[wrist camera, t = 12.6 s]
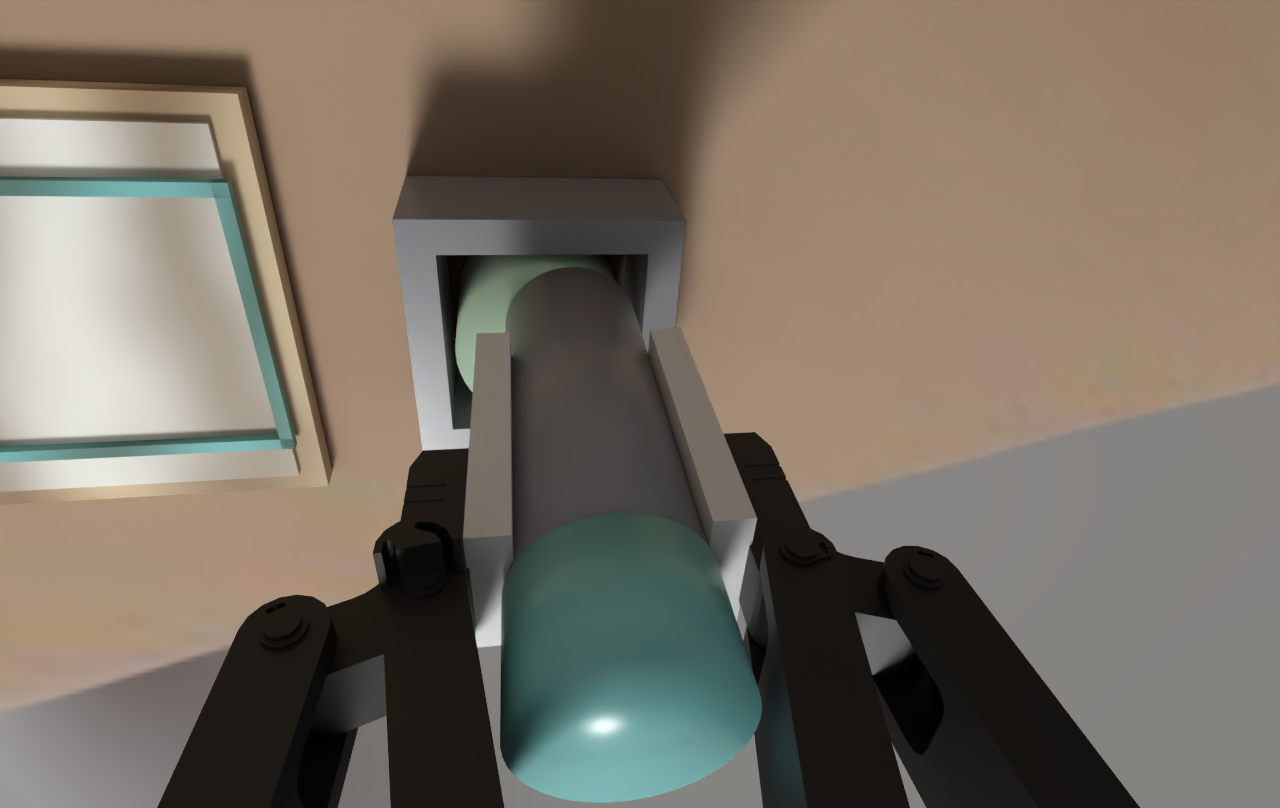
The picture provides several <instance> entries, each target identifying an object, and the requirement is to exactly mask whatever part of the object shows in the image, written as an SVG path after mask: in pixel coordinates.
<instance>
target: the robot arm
mask: <svg viewBox="0 0 1280 808" xmlns="http://www.w3.org/2000/svg"><path fill="white" fill-rule="evenodd" d="M648 356H649V359H650V362H651V365H652V368H653V371H654V375H655V378H656V381H657V384H658V387H659V390H660V394H661V397H662V400H663V403H664V406H665V409H666V413H667V416H668V419H669V422H670V425H671V428H672V432H673V435H674V438H675V441H676V444H677V447H678V450H679V454H680V457H681V460H682V463H683V466H684V469H685V473H686V476H687V479H688V482H689V485H690V488H691V492H692V495H693V498H694V501H695V504H696V507H697V510H698V514H699V517H700V520H701V523H702V526H703V529H704V533H705V536H706V539H707V542H708V545H709V547H710V548H711V549H712V551H713V553H714V555H715V557H716V559H717V562H718V565H719V568H720V572H721V575H722V578H723V581H724V584H725V587H726V590H727V593H728V596H729V600H730V603H731V606H732V609H733V612H734V615H735V618H736V621H737V617H738V612H739V607H740V606H741V609H742V612H743V615H744V618H745V621H746V623H747V626H746V631H745V636H744V640H743V643H744V646H745V649H746V652H747V655H748V658H749V662H750V665H751V668H752V671H753V674H754V677H755V680H756V683H757V686H758V689H759V693H760V696H761V700H762V712H761V719H760V721H759V724H758V727H757V729H756V731H755V733H754V735H755V744H756V752H757V759H758V769H759V777H760V785H761V793H762V802H763V808H910V807H909V803H908V799H907V796H906V792H905V789H904V785H903V782H902V779H901V775H900V771H899V768H898V764H897V760H896V757H895V753H894V750H893V746H894V748H895V749H896V751H897V753H898V755H899V757H900V759H901V761H902V763H903V765H904V766H905V768H906V770H907V772H908V774H909V776H910V777H911V780H912V781H913V783H914V785H915V787H916V789H917V791H918V793H919V795H920V797H921V798H922V800H923V802H924V804H925V806H926V808H1140V807H1139V806H1138V804H1137V803H1136V802H1135V800H1134V799H1133V798H1132V797H1131V795H1130V794H1129V793H1128V791H1127V790H1126V789H1125V787H1124V786H1123V785H1122V783H1121V782H1120V781H1119V780H1118V778H1117V777H1116V776H1115V774H1114V773H1113V772H1112V770H1111V769H1110V768H1109V766H1108V765H1107V764H1106V763H1105V761H1104V760H1103V759H1102V757H1101V756H1100V755H1099V753H1098V752H1097V751H1096V749H1095V748H1094V747H1093V745H1092V744H1091V743H1090V742H1089V740H1088V739H1087V738H1086V736H1085V735H1084V734H1083V733H1082V731H1081V730H1080V728H1079V727H1078V726H1077V724H1076V723H1075V722H1074V721H1073V719H1072V718H1071V717H1070V715H1069V714H1068V713H1067V711H1066V710H1065V709H1064V708H1063V706H1062V705H1061V704H1060V702H1059V701H1058V700H1057V698H1056V697H1055V696H1054V694H1053V693H1052V692H1051V690H1050V689H1049V688H1048V687H1047V685H1046V684H1045V683H1044V681H1043V680H1042V679H1041V677H1040V676H1039V675H1038V674H1037V672H1036V671H1035V669H1034V668H1033V667H1032V666H1031V664H1030V663H1029V662H1028V660H1027V659H1026V658H1025V657H1024V655H1023V654H1022V653H1021V651H1020V650H1019V649H1018V647H1017V646H1016V645H1015V643H1014V642H1013V641H1012V639H1011V638H1010V637H1009V635H1008V634H1007V633H1006V632H1005V630H1004V629H1003V628H1002V626H1001V625H1000V624H999V622H998V621H997V620H996V618H995V617H994V616H993V614H992V613H991V612H990V611H989V610H988V608H987V607H986V605H985V604H984V603H983V602H982V600H981V599H980V597H979V596H978V595H977V593H976V592H975V591H974V590H973V588H972V587H971V586H970V584H969V583H968V582H967V580H966V579H965V578H964V577H963V575H962V574H961V573H960V571H959V570H958V569H957V568H956V567H955V566H954V565H953V564H952V563H951V562H950V561H949V560H948V559H947V558H946V557H944V556H942V555H940V554H938V553H937V552H935V551H933V550H930V549H926V548H923V547H919V546H902V547H900V548H896V549H894V550H892V551H891V552H890V554H889V555H888V556H887V557H886V559H885V562H878V561H872V560H867V559H861V558H856V557H852V556H848V555H844V554H842V553H839V552H837V551H836V549H835V547H834V545H833V543H832V542H830V541H829V540H828V539H827V538H826V537H825V536H824V535H822V534H821V533H818V532H816V531H814V530H812V529H811V528H810V526H809V525H808V522H807V520H806V518H805V516H804V514H803V512H802V510H801V508H800V506H799V503H798V501H797V499H796V497H795V495H794V493H793V491H792V489H791V487H790V485H789V483H788V480H786V476H785V474H784V472H783V470H782V468H781V467H780V466H779V462H778V460H777V458H776V455H775V453H774V451H773V449H772V447H771V446H770V445H769V444H768V443H767V442H765V441H764V440H763V439H762V438H761V437H760V436H759V435H757V434H756V433H755V432H751V433H731V434H723V432H722V429H721V427H720V424H719V422H718V419H717V417H716V414H715V412H714V409H713V407H712V404H711V402H710V399H709V397H708V394H707V392H706V389H705V387H704V384H703V382H702V379H701V377H700V375H699V372H698V370H697V367H696V365H695V362H694V360H693V357H692V355H691V352H690V350H689V347H688V345H687V342H686V340H685V337H684V335H683V332H682V330H681V328H661V329H650V334H649V348H648ZM406 487H407V490H406V492H405V498H404V505H403V510H402V516H401V521H400V522H398V523H396V524H394V525H393V526H391V527H390V528H388V529H386V530H385V531H384V532H383V533H382V535H381V536H380V537H379V538H378V540H377V541H376V543H375V547H374V551H373V557H374V561H375V566H376V570H377V575H378V579H379V584H378V585H377V586H376V587H374V588H372V589H371V590H369V591H368V592H366V593H365V594H362V595H360V596H358V597H355V598H353V599H350V600H347V601H344V602H341V603H338V604H335V605H332V606H329V607H326V605H325V604H324V603H323V602H321V601H319V600H318V599H316V598H314V597H311V596H303V595H293V596H287V597H281V598H278V599H276V600H273V601H271V602H269V603H267V604H264V605H262V606H261V607H260V608H258V609H257V610H256V611H254V612H253V613H252V614H251V615H249V616H248V617H247V619H246V620H245V621H244V623H243V624H242V626H241V627H240V629H239V630H238V632H237V634H236V636H235V638H234V641H233V643H232V645H231V647H230V649H229V652H228V654H227V656H226V658H225V660H224V663H223V665H222V667H221V669H220V671H219V674H218V676H217V678H216V680H215V682H214V684H213V687H212V689H211V691H210V693H209V695H208V698H207V700H206V702H205V704H204V706H203V709H202V711H201V713H200V715H199V718H198V720H197V722H196V724H195V726H194V728H193V731H192V733H191V735H190V737H189V739H188V742H187V744H186V746H185V748H184V750H183V753H182V755H181V757H180V759H179V761H178V764H177V766H176V768H175V770H174V772H173V775H172V777H171V779H170V781H169V783H168V785H167V788H166V790H165V792H164V794H163V796H162V799H161V801H160V803H159V805H158V807H157V808H338V805H339V801H340V796H341V793H342V789H343V785H344V781H345V777H346V773H347V770H348V766H349V762H350V758H351V754H352V750H353V746H354V742H355V738H356V735H357V730H358V727H360V726H362V725H365V724H367V723H369V722H372V721H374V720H377V719H379V718H382V717H384V716H387V733H388V754H389V778H390V799H391V808H504V803H503V798H502V792H501V786H500V781H499V774H498V768H497V762H496V756H495V750H494V744H493V738H492V732H491V726H490V720H489V715H488V709H487V703H486V697H485V691H484V685H483V679H482V673H481V667H480V661H479V655H478V650H477V647H487V646H498V645H501V598H502V589H503V585H504V581H505V579H506V575H507V572H508V570H509V567H510V565H511V563H512V561H513V471H512V375H511V342H510V332H509V333H477V335H476V350H475V365H474V380H473V395H472V410H471V425H470V440H469V448H462V449H442V450H423V451H422V452H421V454H420V455H419V456H418V458H417V459H416V460H415V461H414V463H413V464H412V465H411V466H410V468H409V474H408V480H407V486H406ZM891 742H892V743H891ZM892 744H893V746H892Z"/></svg>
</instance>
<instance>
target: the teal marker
mask: <svg viewBox="0 0 1280 808" xmlns="http://www.w3.org/2000/svg"><path fill="white" fill-rule="evenodd" d="M509 332H510V342H511V375H512V471H513V561H512V563H511V565H510V567H509V570H508V572H507V575H506V579H505V581H504V585H503V589H502V598H501V719H500V721H501V722H500V723H501V724H500V725H501V726H500V748H501V752H502V757H503V759H504V761H505V763H506V765H507V767H508V768H509V769H510V771H511V772H512V773H513V774H514V775H515V776H516V777H517V778H518V779H519V780H520V781H522V782H523V783H525V784H526V785H528V786H529V787H531V788H533V789H535V790H538V791H540V792H542V793H545V794H548V795H551V796H554V797H558V798H562V799H567V800H573V801H581V802H619V801H629V800H636V799H642V798H647V797H651V796H656V795H660V794H663V793H666V792H670V791H673V790H676V789H678V788H681V787H684V786H687V785H689V784H691V783H693V782H695V781H698V780H700V779H702V778H704V777H706V776H707V775H709V774H711V773H713V772H714V771H716V770H717V769H719V768H720V767H722V766H723V765H725V764H726V763H727V762H729V761H730V760H731V759H732V758H734V757H735V756H736V755H737V754H738V753H739V752H740V751H741V750H742V749H743V748H744V747H745V745H746V744H747V743H748V742H749V740H750V739H751V738H752V736H753V734H754V733H755V731H756V729H757V727H758V724H759V721H760V719H761V712H762V700H761V696H760V693H759V689H758V686H757V683H756V680H755V677H754V674H753V671H752V668H751V665H750V662H749V658H748V655H747V652H746V649H745V646H744V643H743V640H742V637H741V634H740V631H739V627H738V624H737V621H736V618H735V615H734V612H733V609H732V606H731V603H730V600H729V596H728V593H727V590H726V587H725V584H724V581H723V578H722V575H721V572H720V568H719V565H718V562H717V559H716V557H715V555H714V553H713V551H712V549H711V548H710V547H709V545H708V542H707V539H706V536H705V533H704V529H703V526H702V523H701V520H700V517H699V514H698V510H697V507H696V504H695V501H694V498H693V495H692V492H691V488H690V485H689V482H688V479H687V476H686V473H685V469H684V466H683V463H682V460H681V457H680V454H679V450H678V447H677V444H676V441H675V438H674V435H673V432H672V428H671V425H670V422H669V419H668V416H667V413H666V409H665V406H664V403H663V400H662V397H661V394H660V390H659V387H658V384H657V381H656V378H655V375H654V371H653V368H652V365H651V362H650V359H649V356H648V352H647V349H646V345H645V342H644V339H643V336H642V333H641V330H640V327H639V323H638V320H637V317H636V314H635V311H634V308H633V305H632V302H631V300H630V298H629V297H628V295H627V294H626V292H625V291H624V290H623V289H622V287H621V286H620V285H619V284H618V283H616V282H615V281H614V280H613V279H611V278H609V277H608V276H606V275H604V274H602V273H600V272H598V271H594V270H591V269H587V268H581V267H564V268H558V269H553V270H550V271H547V272H545V273H542V274H540V275H538V276H536V277H535V278H533V279H532V280H530V281H529V282H528V283H526V284H525V285H524V286H523V287H522V288H521V289H520V290H519V291H518V293H517V294H516V295H515V297H514V298H513V300H512V302H511V304H510V306H509V309H508V312H507V316H506V324H505V333H509Z"/></svg>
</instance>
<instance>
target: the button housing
mask: <svg viewBox="0 0 1280 808" xmlns="http://www.w3.org/2000/svg"><path fill="white" fill-rule="evenodd" d="M685 226H686V220H685V218H684V216H683V215H682V213H681V211H680V210H679V208H678V207H677V205H676V203H675V202H674V200H673V198H672V197H671V195H670V193H669V192H668V190H667V188H666V187H665V185H664V184H663V182H662V180H661V179H602V178H533V177H464V176H405V180H404V183H403V186H402V190H401V193H400V196H399V200H398V203H397V206H396V210H395V213H394V216H393V227H394V234H395V242H396V250H397V257H398V265H399V273H400V280H401V288H402V296H403V303H404V311H405V319H406V326H407V334H408V342H409V349H410V357H411V365H412V372H413V380H414V388H415V395H416V403H417V411H418V418H419V426H420V434H421V441H422V449H423V450H442V449H462V448H469V440H470V425H471V410H472V395H473V392H472V391H471V390H470V389H469V387H468V386H467V384H466V383H465V381H464V379H463V377H462V375H461V373H460V370H459V368H457V363H456V352H455V340H454V329H453V318H452V307H451V296H450V284H449V273H448V262H447V255H595V254H626V260H625V277H624V291H625V292H626V294H627V295H628V297H629V298H630V300H631V302H632V305H633V308H634V311H635V314H636V317H637V320H638V323H639V327H640V330H641V333H642V336H643V339H644V342H645V345H646V349H647V352H648V348H649V334H650V329H661V328H675V320H676V311H677V301H678V292H679V283H680V273H681V264H682V255H683V245H684V236H685Z"/></svg>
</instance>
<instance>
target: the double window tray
mask: <svg viewBox="0 0 1280 808" xmlns="http://www.w3.org/2000/svg"><path fill="white" fill-rule="evenodd" d="M331 475H332V467H331V463H330V458H329V454H328V449H327V445H326V441H325V436H324V432H323V427H322V423H321V418H320V414H319V409H318V405H317V401H316V396H315V392H314V387H313V383H312V378H311V374H310V369H309V365H308V360H307V356H306V352H305V347H304V343H303V338H302V334H301V329H300V325H299V320H298V316H297V312H296V307H295V303H294V298H293V294H292V289H291V285H290V280H289V276H288V271H287V267H286V263H285V258H284V254H283V249H282V245H281V240H280V236H279V231H278V227H277V223H276V218H275V214H274V209H273V205H272V200H271V196H270V191H269V187H268V182H267V178H266V174H265V169H264V165H263V160H262V156H261V151H260V147H259V142H258V138H257V134H256V129H255V125H254V120H253V116H252V111H251V107H250V102H249V98H248V94H247V89H246V87H230V86H200V85H171V84H141V83H112V82H82V81H53V80H24V79H0V505H5V504H22V503H39V502H57V501H74V500H92V499H109V498H126V497H144V496H161V495H179V494H196V493H213V492H231V491H248V490H266V489H283V488H300V487H318V486H329V482H330V478H331Z"/></svg>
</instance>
